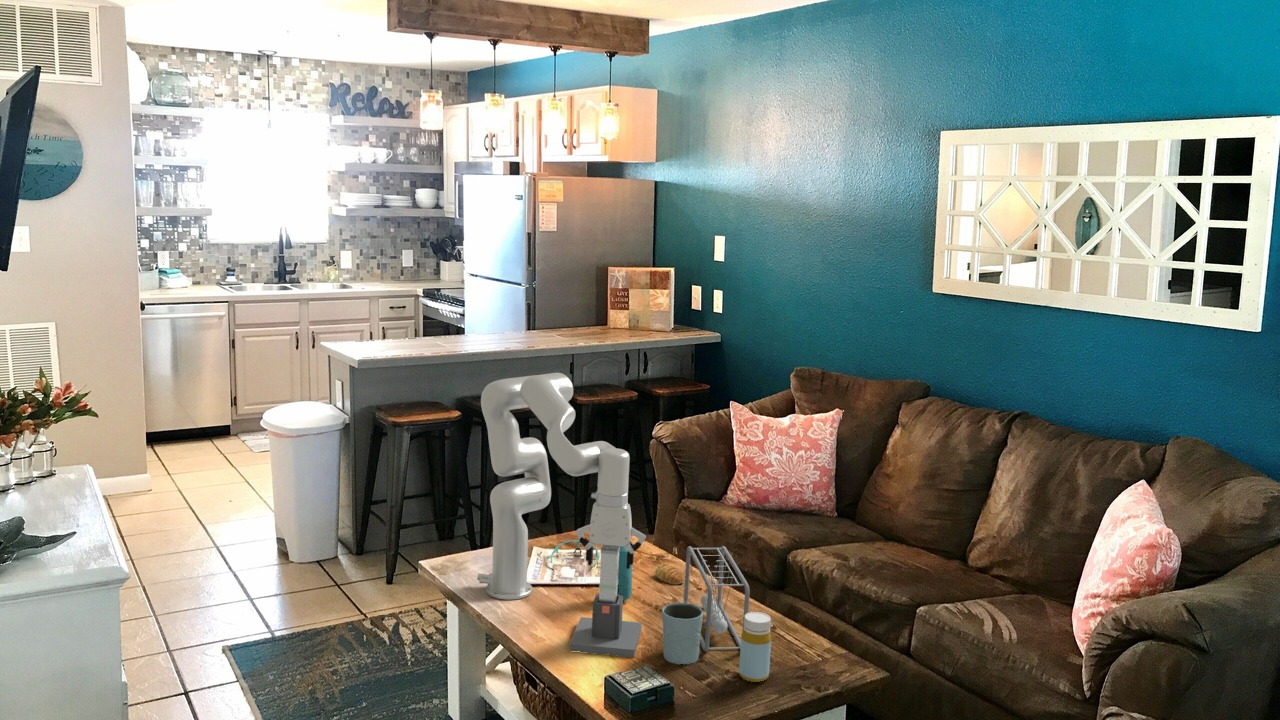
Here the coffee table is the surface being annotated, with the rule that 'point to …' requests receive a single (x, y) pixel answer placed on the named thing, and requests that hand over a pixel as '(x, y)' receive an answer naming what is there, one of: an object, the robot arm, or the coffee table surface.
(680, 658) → the grey cup
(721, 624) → the newton's cradle
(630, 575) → the beverage bottle
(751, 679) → the bottle
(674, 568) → the pastry
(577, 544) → the teal thin curved band
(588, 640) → the stand base
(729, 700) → the coffee table surface
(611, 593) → the stand column
